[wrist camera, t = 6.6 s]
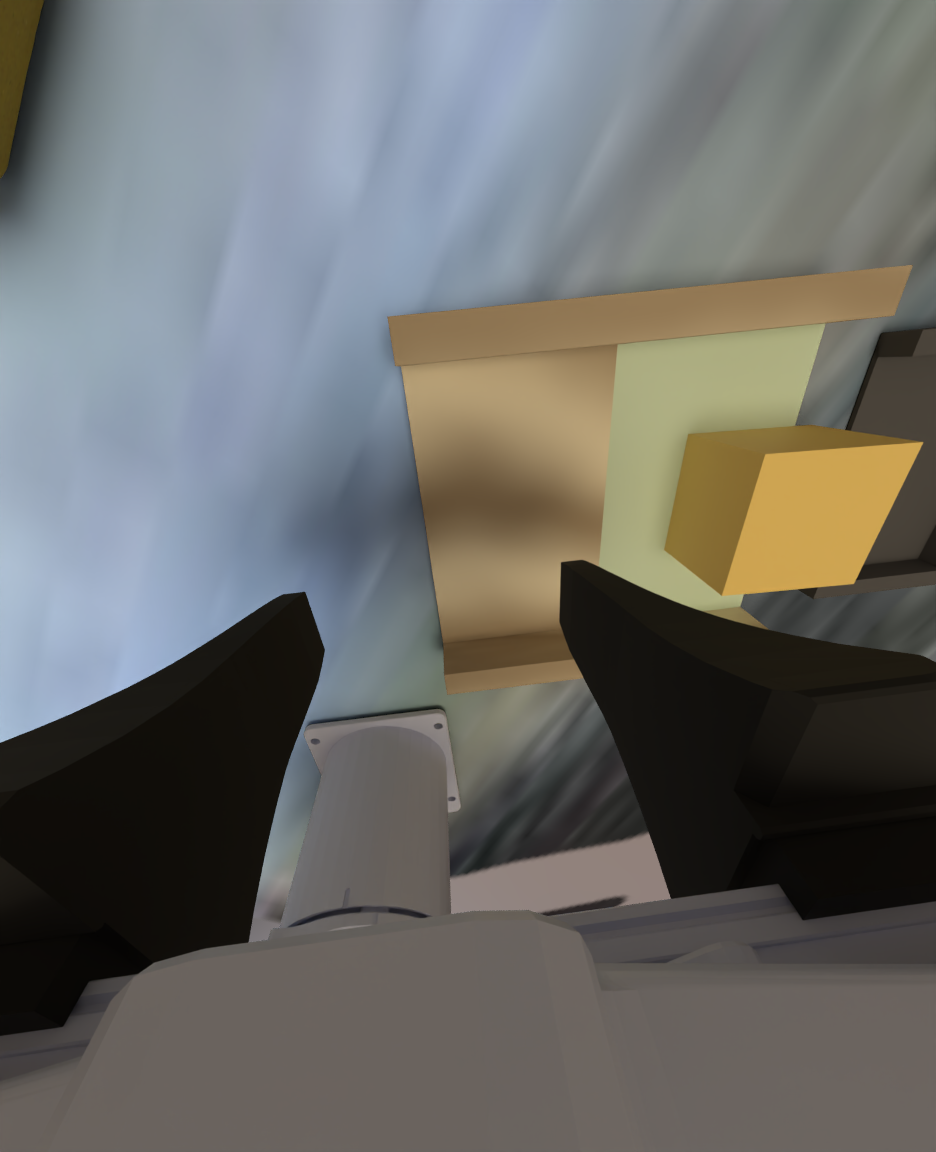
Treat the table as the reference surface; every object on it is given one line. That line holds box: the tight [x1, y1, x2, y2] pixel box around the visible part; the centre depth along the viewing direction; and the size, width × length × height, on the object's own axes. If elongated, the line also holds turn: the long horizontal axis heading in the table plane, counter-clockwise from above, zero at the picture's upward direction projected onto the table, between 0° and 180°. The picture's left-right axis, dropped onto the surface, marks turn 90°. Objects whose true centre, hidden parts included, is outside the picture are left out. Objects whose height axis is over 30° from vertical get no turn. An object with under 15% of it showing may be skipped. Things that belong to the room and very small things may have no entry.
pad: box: [599, 323, 826, 611], centre depth 17 cm, size 12×8×1 cm, turn 5°
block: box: [664, 425, 923, 596], centre depth 15 cm, size 5×5×4 cm
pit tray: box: [798, 328, 936, 599], centre depth 17 cm, size 11×7×1 cm, turn 5°
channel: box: [388, 265, 913, 695], centre depth 16 cm, size 14×15×3 cm
